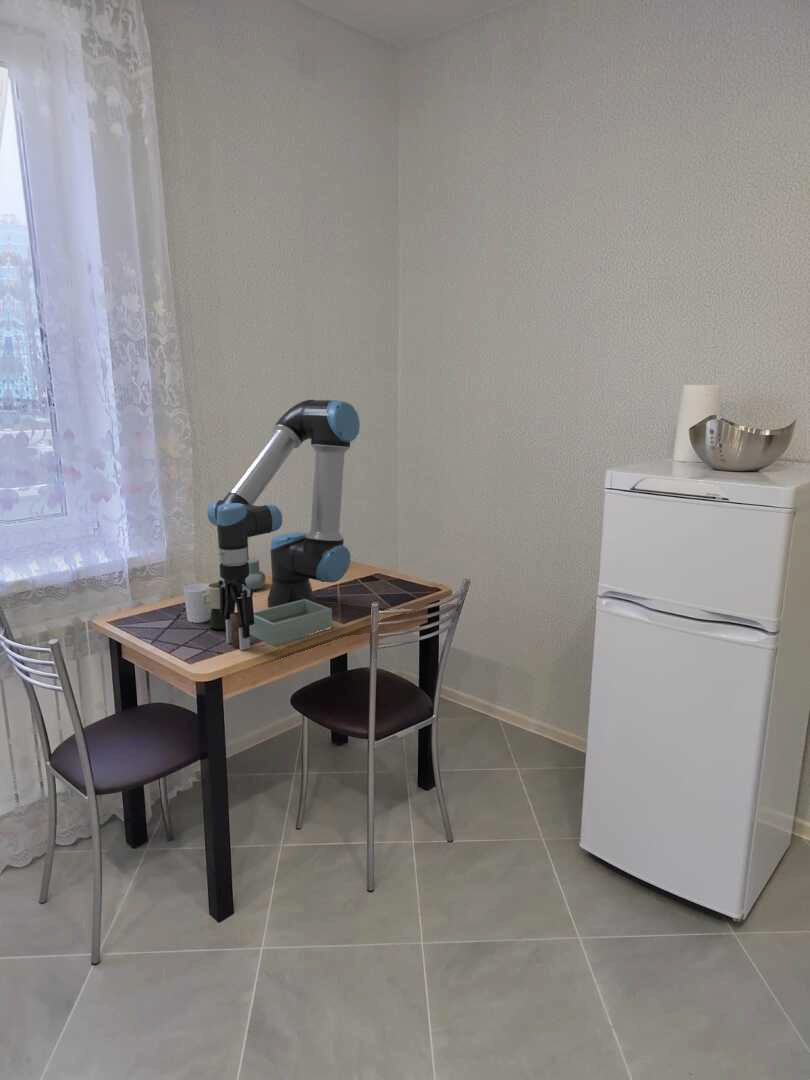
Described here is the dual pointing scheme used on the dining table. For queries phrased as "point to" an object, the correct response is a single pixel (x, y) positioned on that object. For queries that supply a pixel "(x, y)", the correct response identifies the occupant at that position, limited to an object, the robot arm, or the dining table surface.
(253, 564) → the air freshener
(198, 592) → the white cup
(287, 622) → the box
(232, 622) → the peg
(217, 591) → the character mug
